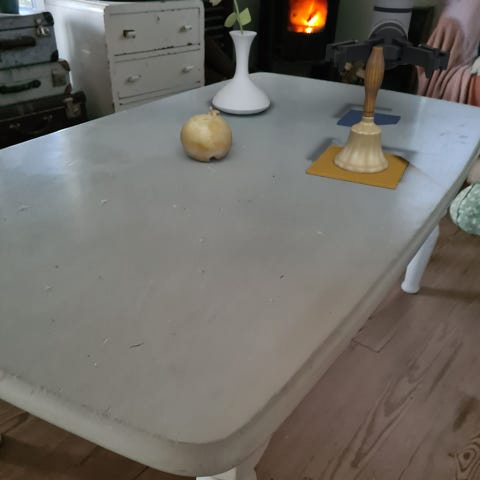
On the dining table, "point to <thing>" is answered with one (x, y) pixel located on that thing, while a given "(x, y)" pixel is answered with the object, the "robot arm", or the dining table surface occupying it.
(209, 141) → the onion
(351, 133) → the hand bell
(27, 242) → the dining table surface
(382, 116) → the blue mat
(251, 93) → the flower in vase
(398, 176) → the ochre mat
